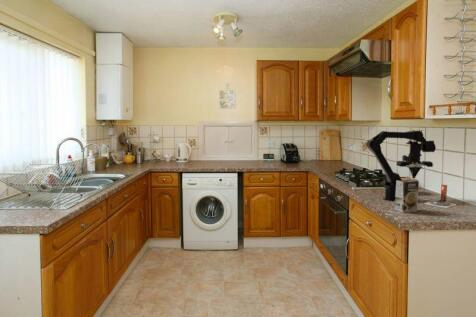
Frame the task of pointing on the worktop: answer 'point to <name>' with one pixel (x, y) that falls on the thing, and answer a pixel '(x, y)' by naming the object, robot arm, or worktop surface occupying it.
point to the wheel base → (440, 205)
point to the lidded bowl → (409, 178)
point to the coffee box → (406, 195)
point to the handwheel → (442, 197)
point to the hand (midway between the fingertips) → (413, 178)
